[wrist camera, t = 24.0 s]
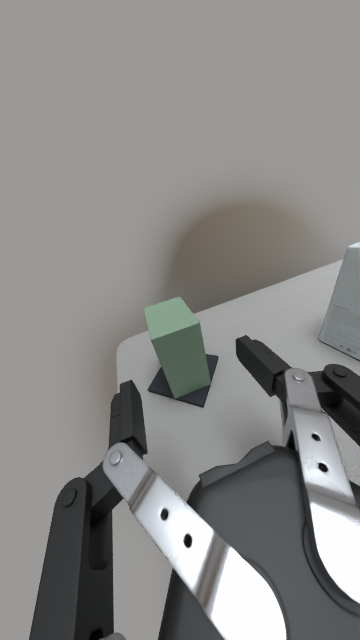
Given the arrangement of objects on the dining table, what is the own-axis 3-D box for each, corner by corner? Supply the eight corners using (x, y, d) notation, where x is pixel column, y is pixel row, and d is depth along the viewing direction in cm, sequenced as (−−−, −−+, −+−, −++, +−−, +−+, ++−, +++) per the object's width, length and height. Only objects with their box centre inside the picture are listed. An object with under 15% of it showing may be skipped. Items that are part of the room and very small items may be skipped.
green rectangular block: (211, 384, 22) (199, 322, 17) (174, 399, 21) (150, 339, 16) (192, 350, 28) (179, 295, 22) (163, 361, 27) (143, 308, 22)
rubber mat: (203, 407, 20) (203, 405, 20) (148, 391, 24) (147, 389, 23) (218, 357, 26) (218, 355, 26) (172, 350, 29) (171, 348, 29)
